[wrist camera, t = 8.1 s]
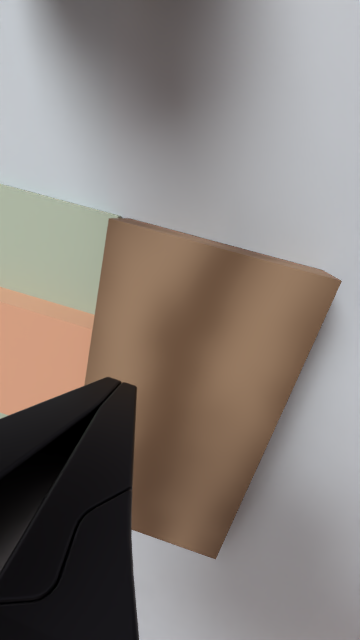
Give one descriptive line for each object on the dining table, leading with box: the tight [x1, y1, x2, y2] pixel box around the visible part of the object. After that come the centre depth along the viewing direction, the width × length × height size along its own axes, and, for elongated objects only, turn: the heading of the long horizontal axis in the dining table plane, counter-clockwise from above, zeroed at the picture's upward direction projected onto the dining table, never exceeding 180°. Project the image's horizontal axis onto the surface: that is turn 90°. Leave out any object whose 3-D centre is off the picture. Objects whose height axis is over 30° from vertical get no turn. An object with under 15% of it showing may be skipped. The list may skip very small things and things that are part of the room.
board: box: [84, 218, 341, 559], centre depth 18 cm, size 11×20×3 cm, turn 166°
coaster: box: [0, 287, 95, 415], centre depth 19 cm, size 8×8×2 cm
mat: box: [0, 184, 121, 419], centre depth 20 cm, size 12×20×1 cm, turn 166°
